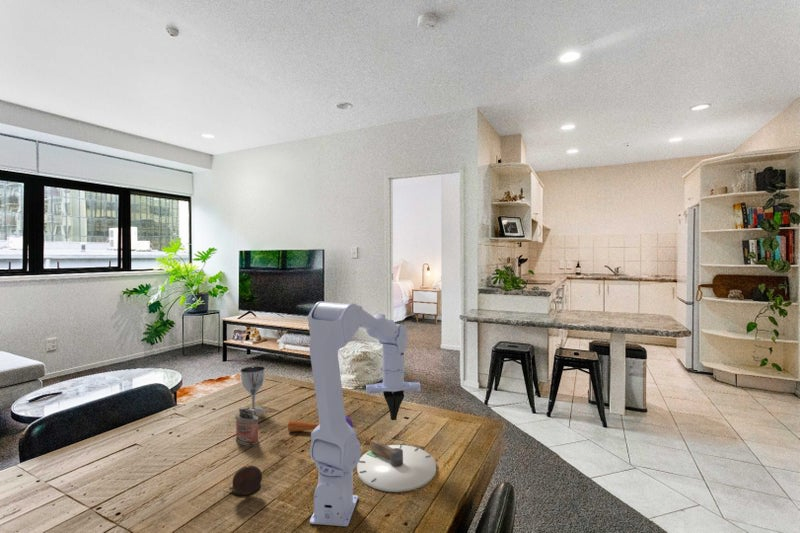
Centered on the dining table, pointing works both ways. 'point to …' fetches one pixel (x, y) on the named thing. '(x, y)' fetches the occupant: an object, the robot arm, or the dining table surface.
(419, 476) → the gauge dial
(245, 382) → the wine glass
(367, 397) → the dining table surface
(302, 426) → the kendama
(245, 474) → the compass
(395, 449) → the tuning pointer
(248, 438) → the lighter
